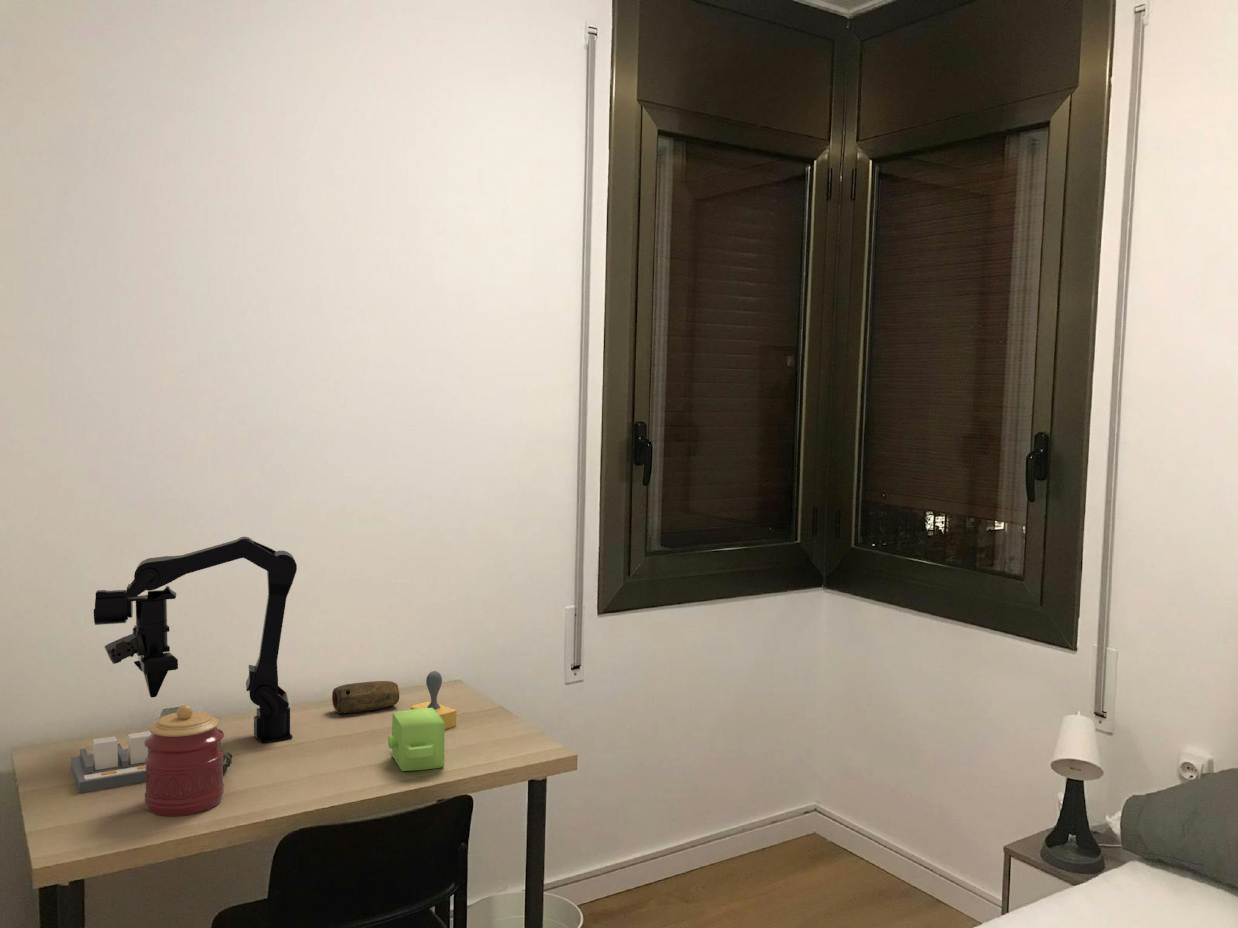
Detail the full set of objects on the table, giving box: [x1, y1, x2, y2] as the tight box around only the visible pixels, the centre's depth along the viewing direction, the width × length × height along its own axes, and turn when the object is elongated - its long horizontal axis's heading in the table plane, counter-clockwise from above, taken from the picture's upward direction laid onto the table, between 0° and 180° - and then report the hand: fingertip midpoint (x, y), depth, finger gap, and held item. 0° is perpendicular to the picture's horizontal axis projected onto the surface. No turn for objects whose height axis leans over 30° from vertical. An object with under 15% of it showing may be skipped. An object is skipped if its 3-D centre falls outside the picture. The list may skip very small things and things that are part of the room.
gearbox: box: [387, 708, 446, 772], centre depth 204 cm, size 18×10×10 cm, turn 23°
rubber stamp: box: [410, 670, 457, 730], centre depth 228 cm, size 10×6×12 cm, turn 46°
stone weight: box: [331, 680, 400, 714], centre depth 237 cm, size 15×7×7 cm, turn 128°
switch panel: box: [70, 743, 146, 794], centre depth 194 cm, size 16×15×4 cm
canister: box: [144, 704, 225, 817], centre depth 180 cm, size 13×13×18 cm
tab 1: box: [92, 735, 119, 770], centre depth 192 cm, size 4×3×5 cm
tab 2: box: [127, 730, 152, 765], centre depth 195 cm, size 4×3×5 cm
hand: (153, 696), depth 207 cm, fingers closed
